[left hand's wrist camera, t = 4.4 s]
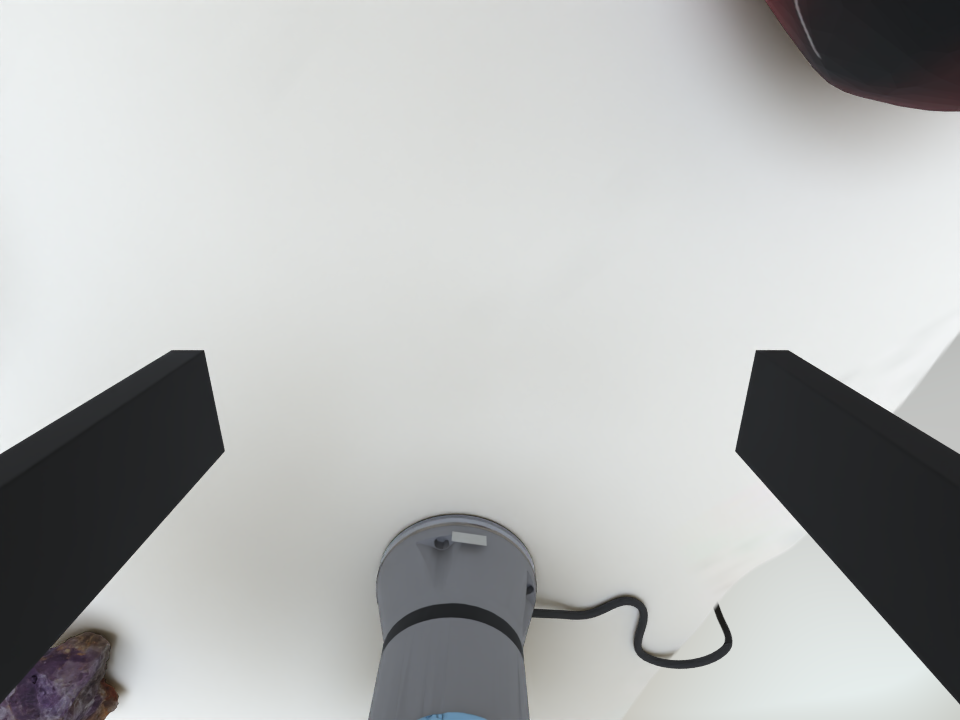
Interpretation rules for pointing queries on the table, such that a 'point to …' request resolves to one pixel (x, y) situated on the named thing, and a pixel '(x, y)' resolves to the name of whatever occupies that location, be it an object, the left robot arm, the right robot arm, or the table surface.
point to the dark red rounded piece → (881, 47)
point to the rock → (65, 684)
